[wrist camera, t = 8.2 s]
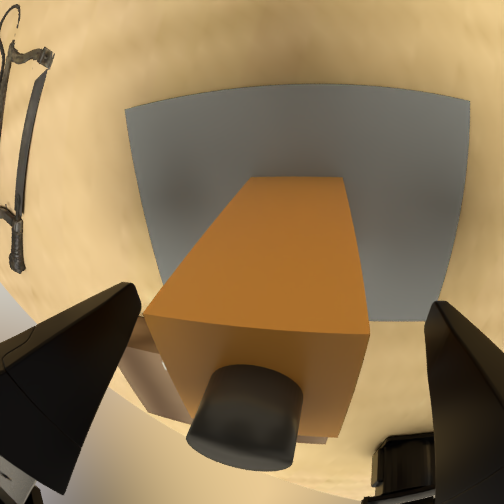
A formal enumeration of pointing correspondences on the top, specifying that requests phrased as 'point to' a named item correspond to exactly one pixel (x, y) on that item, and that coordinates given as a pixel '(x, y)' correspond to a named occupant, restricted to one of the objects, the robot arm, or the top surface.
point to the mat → (314, 173)
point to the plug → (266, 322)
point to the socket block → (160, 379)
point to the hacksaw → (46, 60)
